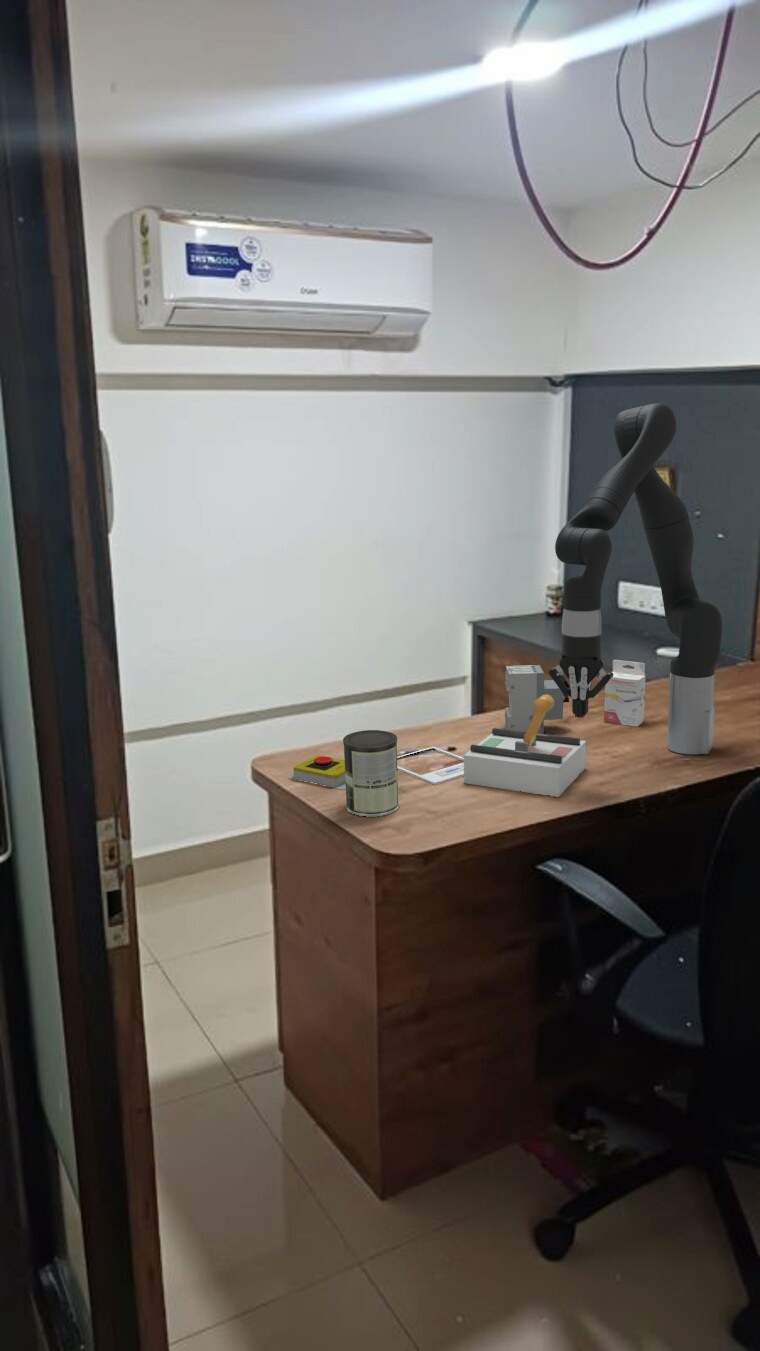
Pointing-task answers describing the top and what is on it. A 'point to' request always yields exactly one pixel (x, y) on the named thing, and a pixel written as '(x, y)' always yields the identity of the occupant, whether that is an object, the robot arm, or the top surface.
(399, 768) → the photo frame
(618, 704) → the ink cartridge box
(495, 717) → the top surface
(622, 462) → the robot arm
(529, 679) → the circuit breaker
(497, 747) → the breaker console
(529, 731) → the lever
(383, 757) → the coffee can
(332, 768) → the emergency button
